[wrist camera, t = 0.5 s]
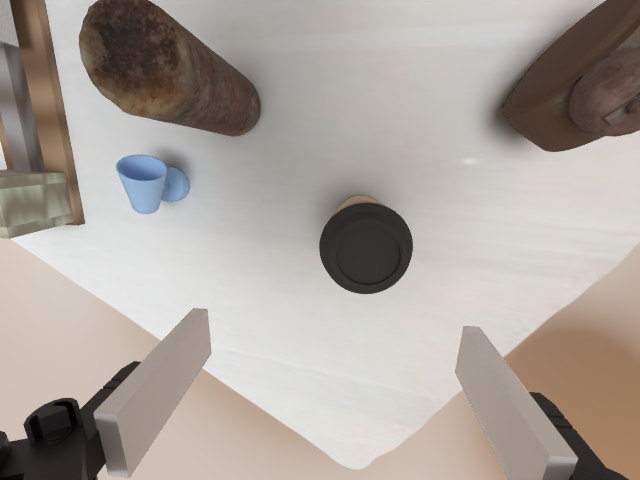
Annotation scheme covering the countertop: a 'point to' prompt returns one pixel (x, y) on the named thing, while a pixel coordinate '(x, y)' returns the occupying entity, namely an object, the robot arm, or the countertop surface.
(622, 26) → the alarm clock
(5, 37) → the carriage
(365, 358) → the countertop surface
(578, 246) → the countertop surface
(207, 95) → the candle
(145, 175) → the spotlight
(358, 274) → the coffee cup
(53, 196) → the rail
